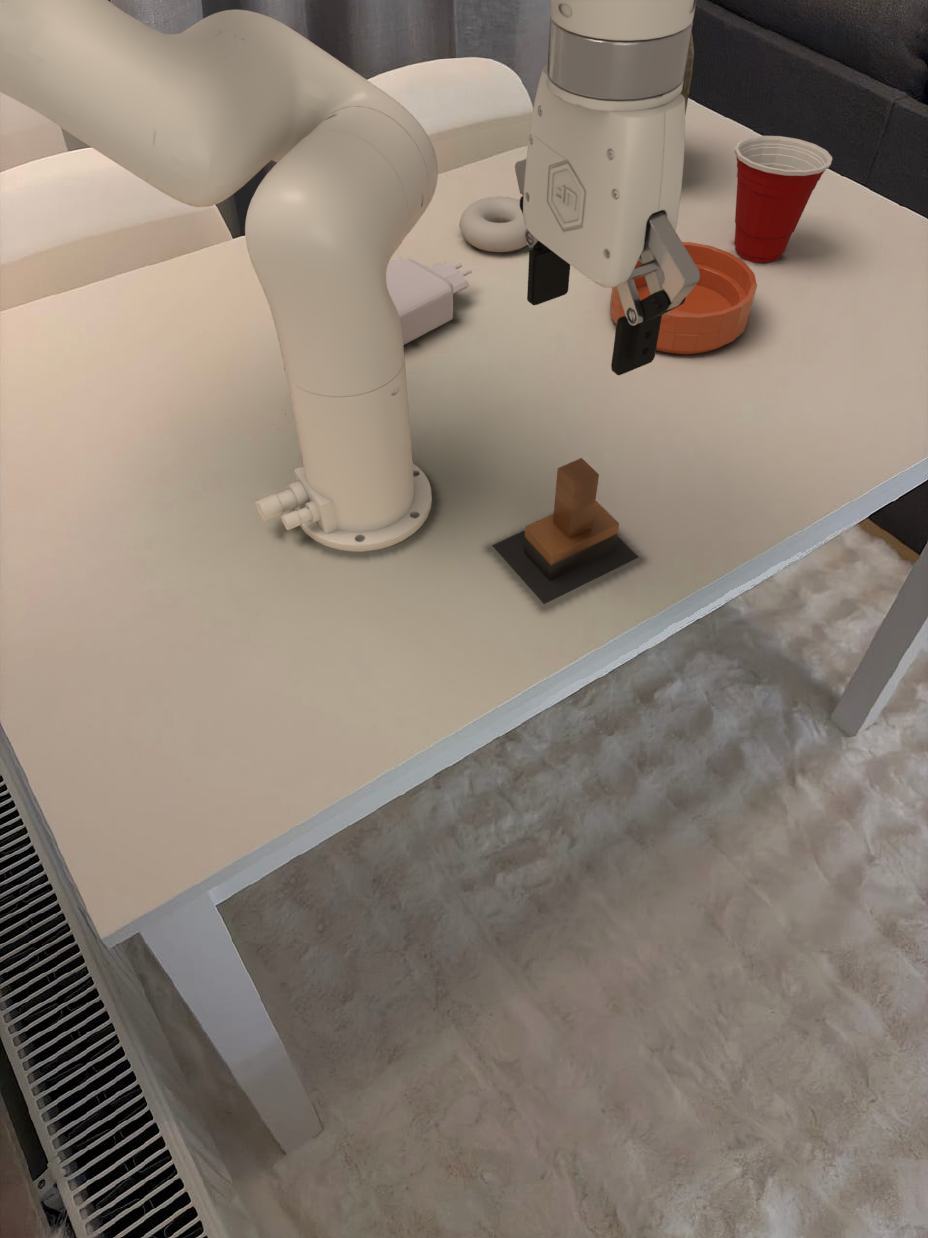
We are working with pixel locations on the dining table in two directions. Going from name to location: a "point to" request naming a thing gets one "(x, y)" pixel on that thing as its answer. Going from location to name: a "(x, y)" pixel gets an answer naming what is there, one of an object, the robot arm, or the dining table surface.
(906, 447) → the dining table surface
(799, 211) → the plastic cup
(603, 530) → the brush
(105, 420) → the dining table surface
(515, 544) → the mat
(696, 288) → the bowl
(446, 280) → the charger
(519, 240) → the donut
